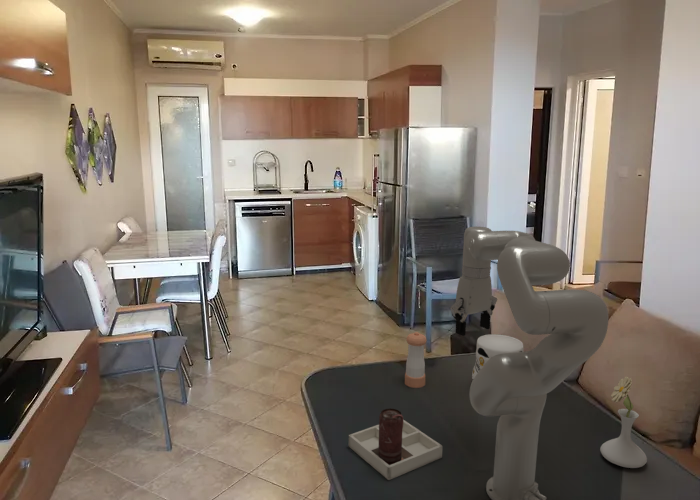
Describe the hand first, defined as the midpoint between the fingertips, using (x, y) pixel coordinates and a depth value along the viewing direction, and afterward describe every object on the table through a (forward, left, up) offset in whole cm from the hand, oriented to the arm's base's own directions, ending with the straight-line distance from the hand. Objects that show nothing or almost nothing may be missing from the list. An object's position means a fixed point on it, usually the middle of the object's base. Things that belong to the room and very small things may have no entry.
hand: (472, 331), depth 151 cm
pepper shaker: (+35, -10, -32) cm, 49 cm away
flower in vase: (-32, -26, -32) cm, 52 cm away
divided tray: (+5, +23, -32) cm, 40 cm away
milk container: (+15, -30, -33) cm, 47 cm away
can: (+1, +28, -32) cm, 42 cm away
